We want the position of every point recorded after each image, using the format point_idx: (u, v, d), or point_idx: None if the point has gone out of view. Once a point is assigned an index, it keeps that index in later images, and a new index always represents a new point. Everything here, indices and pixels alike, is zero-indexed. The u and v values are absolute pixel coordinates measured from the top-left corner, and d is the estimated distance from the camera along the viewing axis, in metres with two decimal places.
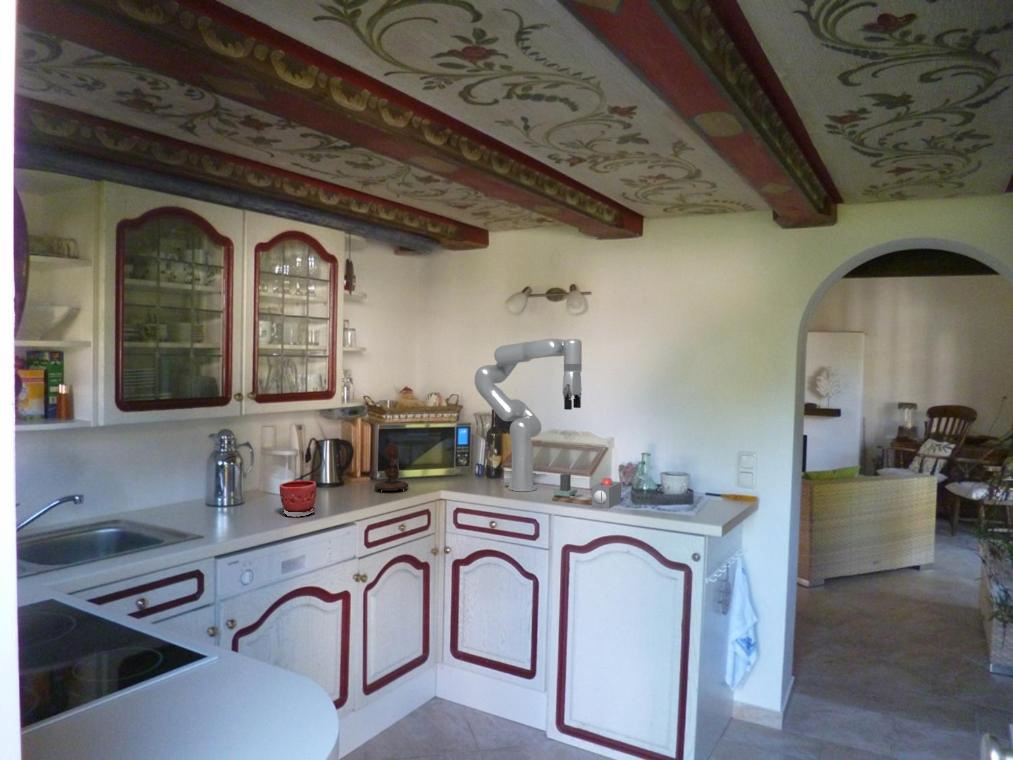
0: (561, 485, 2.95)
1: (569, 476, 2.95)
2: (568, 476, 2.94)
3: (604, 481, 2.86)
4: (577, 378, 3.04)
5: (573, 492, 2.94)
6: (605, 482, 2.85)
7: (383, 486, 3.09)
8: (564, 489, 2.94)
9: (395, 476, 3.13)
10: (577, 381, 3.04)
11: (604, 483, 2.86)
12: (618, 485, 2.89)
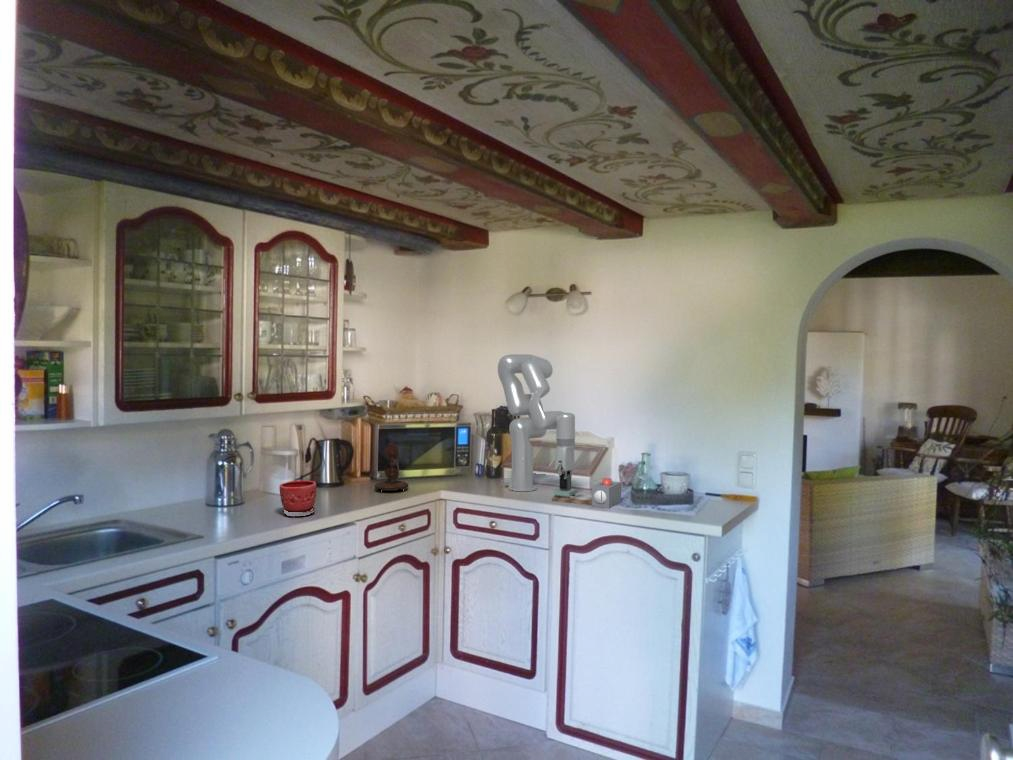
0: None
1: (569, 476, 2.95)
2: (568, 476, 2.94)
3: (604, 481, 2.86)
4: (570, 453, 2.93)
5: (573, 492, 2.94)
6: (605, 482, 2.85)
7: (383, 486, 3.09)
8: (564, 489, 2.94)
9: (395, 476, 3.13)
10: (570, 457, 2.94)
11: (604, 483, 2.86)
12: (618, 485, 2.89)
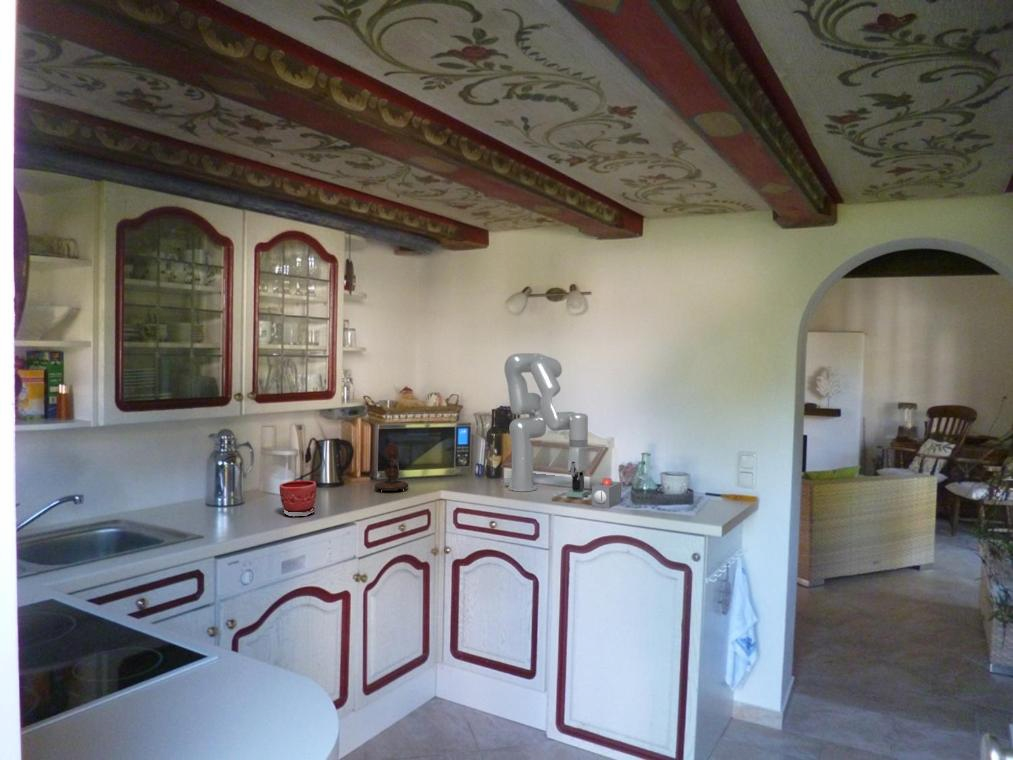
0: None
1: (582, 477, 2.93)
2: (581, 477, 2.92)
3: (604, 481, 2.86)
4: (583, 454, 2.91)
5: (586, 493, 2.92)
6: (605, 482, 2.85)
7: (383, 486, 3.09)
8: (577, 490, 2.92)
9: (395, 476, 3.13)
10: (583, 458, 2.91)
11: (604, 483, 2.86)
12: (618, 485, 2.89)
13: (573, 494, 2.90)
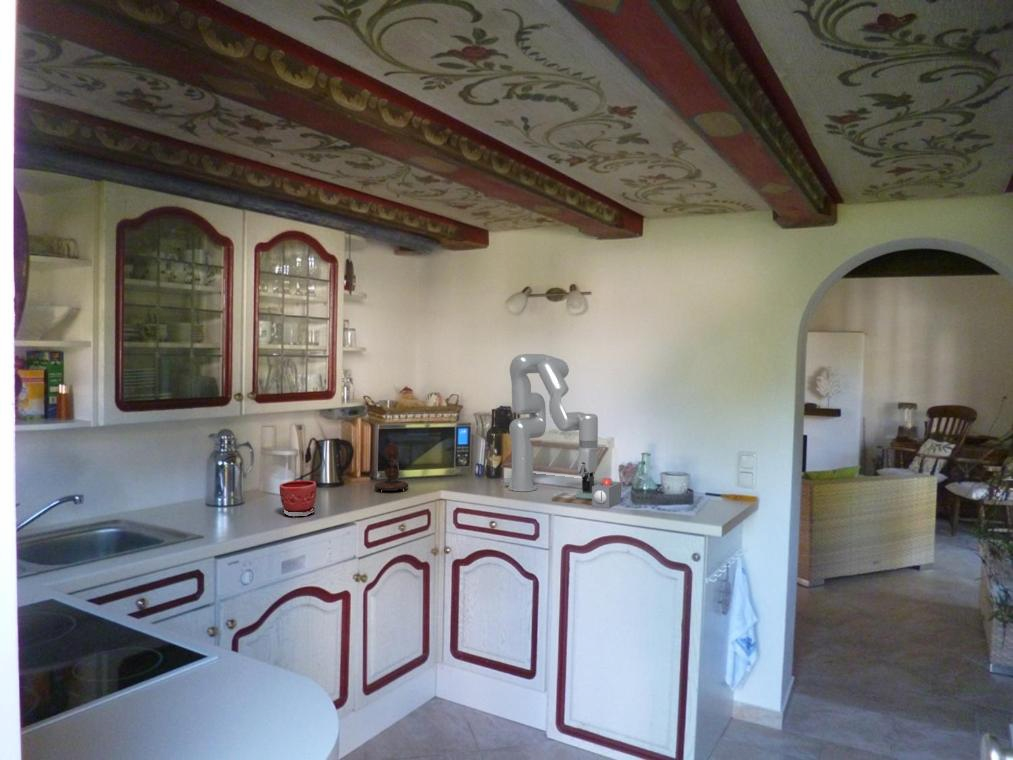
0: None
1: (592, 478, 2.91)
2: (591, 478, 2.90)
3: (604, 481, 2.86)
4: (593, 455, 2.89)
5: None
6: (605, 482, 2.85)
7: (383, 486, 3.09)
8: (587, 491, 2.90)
9: (395, 476, 3.13)
10: (593, 458, 2.89)
11: (604, 483, 2.86)
12: (618, 485, 2.89)
13: (583, 495, 2.88)
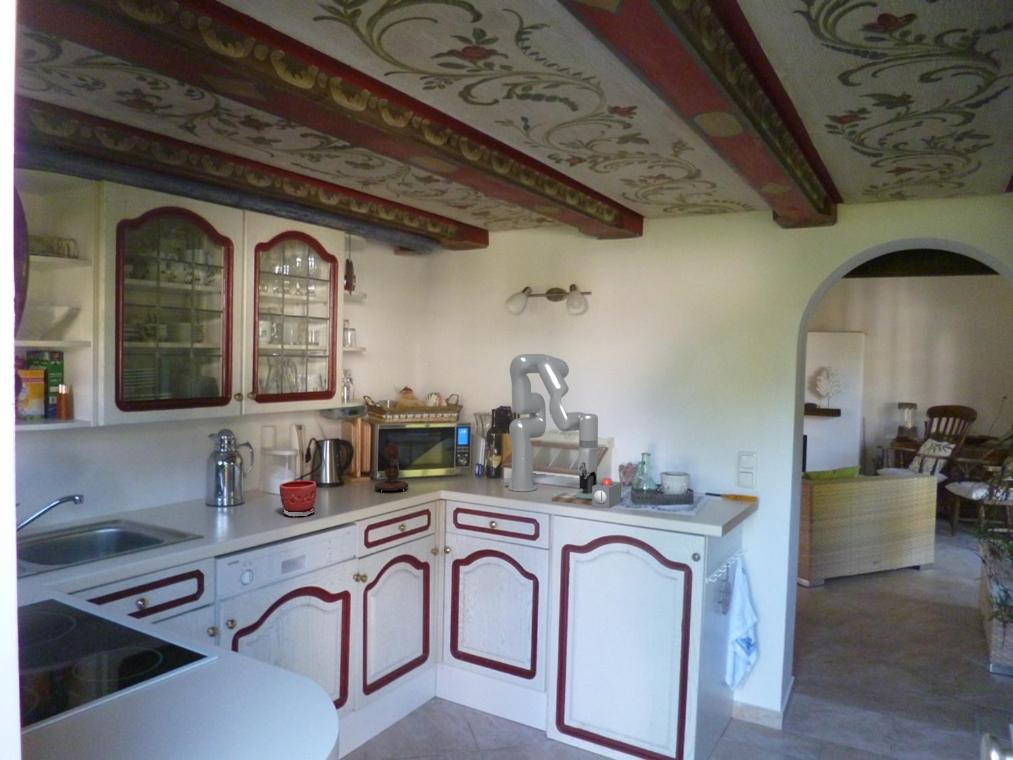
0: None
1: (592, 478, 2.91)
2: (591, 478, 2.90)
3: (604, 481, 2.86)
4: (593, 455, 2.89)
5: None
6: (605, 482, 2.85)
7: (383, 486, 3.09)
8: (587, 491, 2.90)
9: (395, 476, 3.13)
10: (593, 458, 2.89)
11: (604, 483, 2.86)
12: (618, 485, 2.89)
13: (583, 495, 2.88)
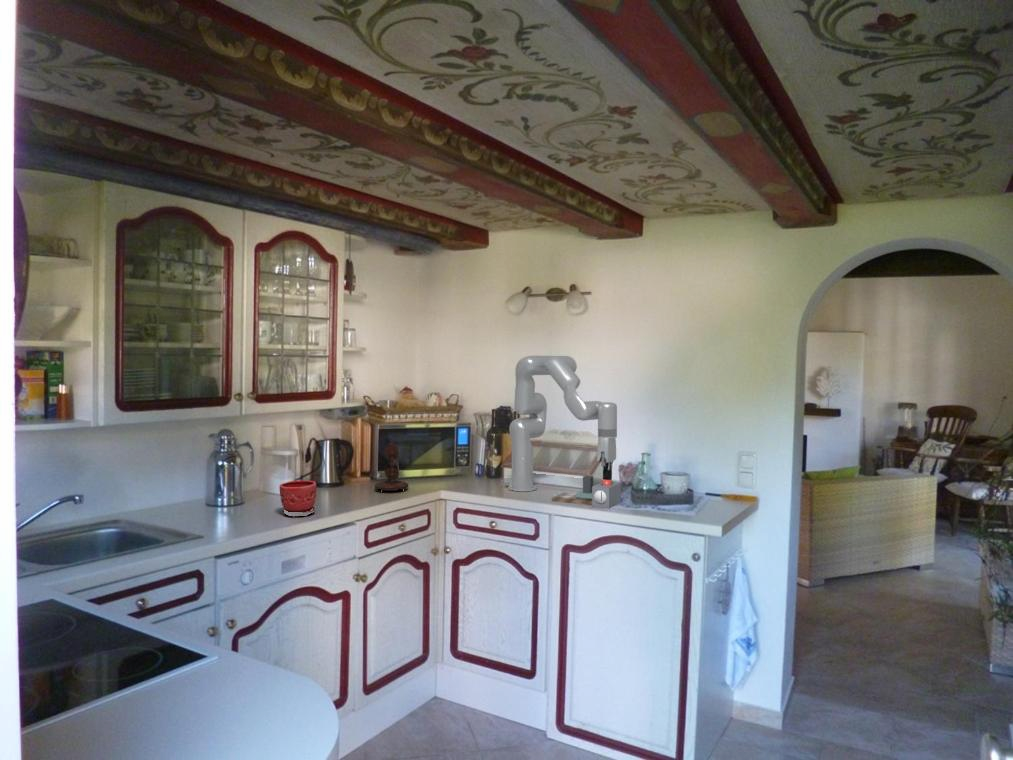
0: (584, 487, 2.90)
1: (592, 478, 2.91)
2: (591, 478, 2.90)
3: (604, 481, 2.86)
4: (612, 444, 2.85)
5: None
6: (605, 482, 2.85)
7: (383, 486, 3.09)
8: (587, 491, 2.90)
9: (395, 476, 3.13)
10: (613, 448, 2.85)
11: (604, 483, 2.86)
12: (618, 485, 2.89)
13: (583, 495, 2.88)
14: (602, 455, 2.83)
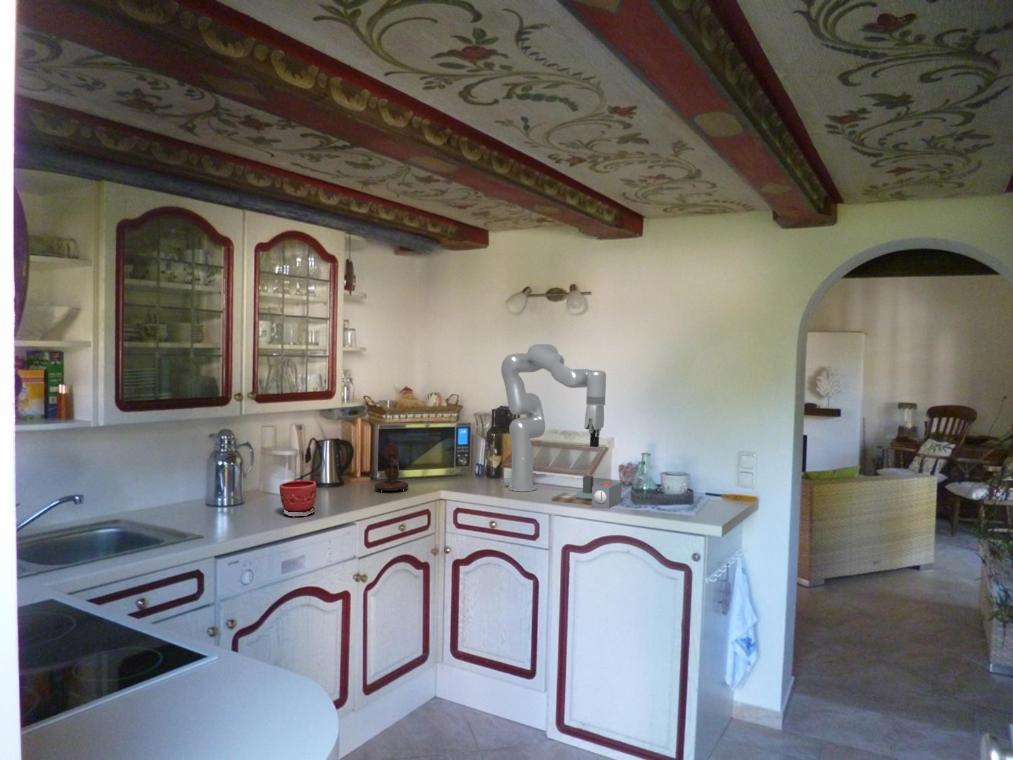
0: (584, 487, 2.90)
1: (592, 478, 2.91)
2: (591, 478, 2.90)
3: None
4: (600, 412, 2.88)
5: None
6: None
7: (383, 486, 3.09)
8: (587, 491, 2.90)
9: (395, 476, 3.13)
10: (600, 415, 2.88)
11: None
12: (618, 485, 2.89)
13: (583, 495, 2.88)
14: (590, 422, 2.86)
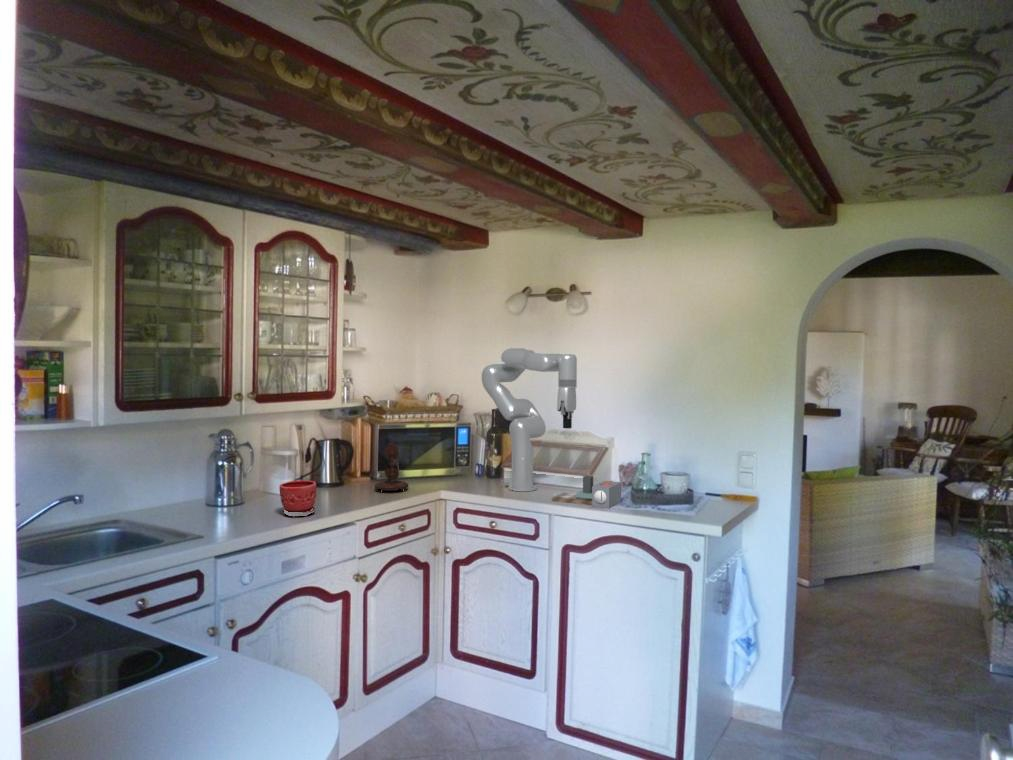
0: (584, 487, 2.90)
1: (592, 478, 2.91)
2: (591, 478, 2.90)
3: None
4: (572, 394, 2.97)
5: None
6: None
7: (383, 486, 3.09)
8: (587, 491, 2.90)
9: (395, 476, 3.12)
10: (572, 397, 2.97)
11: None
12: (618, 485, 2.89)
13: (583, 495, 2.88)
14: (562, 404, 2.95)
